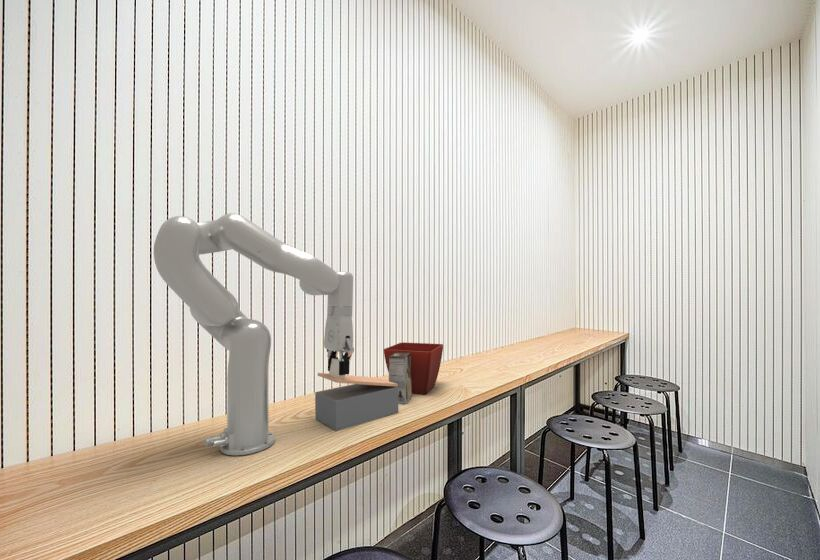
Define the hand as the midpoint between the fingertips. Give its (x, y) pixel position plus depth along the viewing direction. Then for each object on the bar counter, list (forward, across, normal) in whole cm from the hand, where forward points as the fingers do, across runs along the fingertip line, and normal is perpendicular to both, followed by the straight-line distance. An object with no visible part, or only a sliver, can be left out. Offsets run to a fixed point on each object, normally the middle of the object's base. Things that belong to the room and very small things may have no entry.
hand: (338, 372), depth 106 cm
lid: (+4, 0, +7) cm, 8 cm away
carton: (+14, 0, +7) cm, 16 cm away
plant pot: (+13, -10, +40) cm, 44 cm away
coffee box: (+14, -4, +27) cm, 31 cm away
